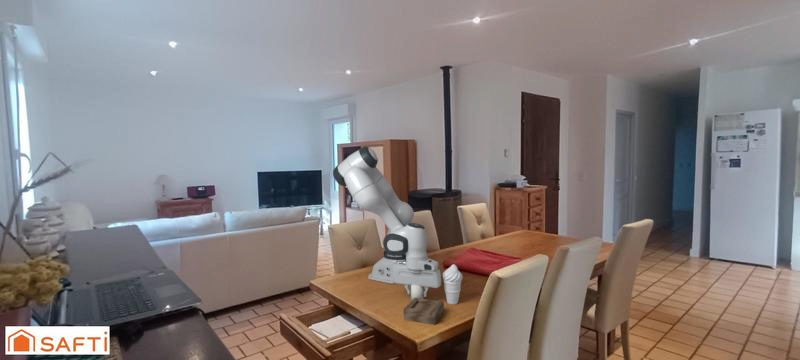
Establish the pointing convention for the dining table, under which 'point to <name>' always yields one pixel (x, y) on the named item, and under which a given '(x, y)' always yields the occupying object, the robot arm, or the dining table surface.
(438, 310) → the holder
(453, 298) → the soft serve ice cream cone
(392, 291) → the dining table surface
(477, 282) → the dining table surface
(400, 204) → the robot arm
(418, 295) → the white wax pillar
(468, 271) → the dining table surface
